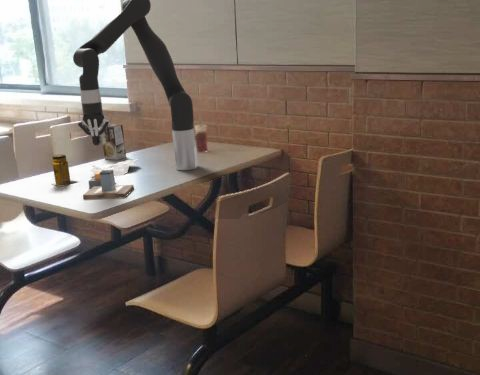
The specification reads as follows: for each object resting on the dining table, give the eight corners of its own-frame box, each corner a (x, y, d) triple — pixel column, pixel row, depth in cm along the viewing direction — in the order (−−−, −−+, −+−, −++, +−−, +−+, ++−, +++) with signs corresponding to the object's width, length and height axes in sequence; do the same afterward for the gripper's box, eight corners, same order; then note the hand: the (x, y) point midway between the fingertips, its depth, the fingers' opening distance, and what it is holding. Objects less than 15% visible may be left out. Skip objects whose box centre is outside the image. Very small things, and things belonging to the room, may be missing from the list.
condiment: (51, 184, 246) (47, 156, 243) (68, 179, 253) (64, 152, 249) (61, 186, 242) (57, 158, 239) (79, 181, 248) (75, 153, 245)
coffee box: (127, 157, 290) (123, 124, 286) (117, 160, 285) (113, 126, 281) (113, 156, 295) (109, 124, 291) (104, 159, 290) (99, 126, 285)
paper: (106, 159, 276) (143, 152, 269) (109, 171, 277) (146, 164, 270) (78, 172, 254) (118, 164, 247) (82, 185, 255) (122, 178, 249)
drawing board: (133, 188, 231) (133, 184, 231) (125, 197, 219) (124, 193, 219) (94, 190, 233) (93, 186, 232) (83, 198, 221) (82, 194, 221)
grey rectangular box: (115, 188, 227) (113, 169, 225) (112, 190, 224) (109, 172, 222) (105, 188, 228) (103, 170, 226) (101, 191, 224) (99, 172, 222)
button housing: (114, 182, 243) (114, 175, 242) (108, 187, 235) (107, 180, 234) (96, 183, 244) (95, 176, 243) (89, 188, 236) (88, 181, 235)
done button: (108, 179, 241) (107, 171, 240) (105, 182, 237) (103, 173, 236) (98, 179, 241) (97, 171, 240) (95, 182, 237) (94, 174, 236)
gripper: (110, 99, 233) (116, 142, 238) (78, 100, 235) (84, 143, 239) (104, 101, 226) (110, 146, 231) (71, 103, 228) (77, 147, 232)
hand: (97, 145), depth 235 cm, fingers closed
